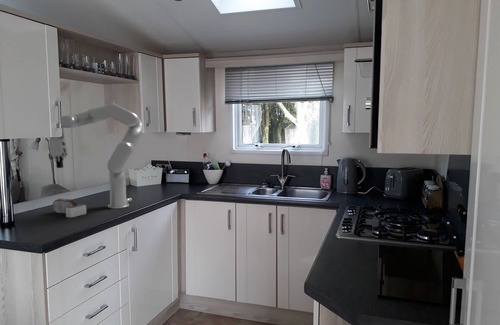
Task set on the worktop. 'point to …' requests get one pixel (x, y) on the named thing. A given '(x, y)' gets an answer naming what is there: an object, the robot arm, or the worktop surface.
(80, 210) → the block
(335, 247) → the worktop surface
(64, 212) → the bread slice
